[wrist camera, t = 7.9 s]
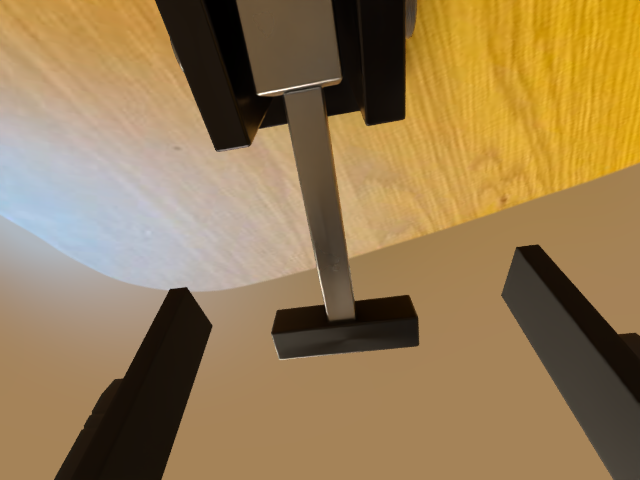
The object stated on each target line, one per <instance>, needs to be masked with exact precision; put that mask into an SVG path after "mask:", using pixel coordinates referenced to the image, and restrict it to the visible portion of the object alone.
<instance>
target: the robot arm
mask: <svg viewBox="0 0 640 480" xmlns="http://www.w3.org/2000/svg"><path fill="white" fill-rule="evenodd" d="M501 296H502V297H503V299H504V301H505V302H506V304H507V306H508V307H509V309H510V311H511V312H512V314H513V315H514V317H515V319H516V320H517V322H518V324H519V325H520V327H521V328H522V330H523V332H524V333H525V335H526V337H527V338H528V340H529V342H530V343H531V345H532V347H533V348H534V350H535V352H536V353H537V355H538V357H539V358H540V360H541V361H542V363H543V365H544V366H545V368H546V370H547V371H548V373H549V375H550V376H551V378H552V380H553V381H554V383H555V384H556V386H557V388H558V389H559V391H560V393H561V394H562V396H563V397H564V399H565V401H566V402H567V404H568V406H569V407H570V409H571V411H572V412H573V414H574V415H575V417H576V419H577V421H578V422H579V424H580V426H581V427H582V429H583V430H584V432H585V434H586V435H587V437H588V438H589V440H590V442H591V444H592V445H593V447H594V449H595V450H596V452H597V453H598V455H599V457H600V458H601V460H602V462H603V463H604V465H605V467H606V468H607V470H608V472H609V473H610V475H611V476H612V478H613V480H640V336H639V335H638V334H636V333H629V334H617V333H616V332H615V330H614V329H613V328H612V327H611V326H610V325H609V324H608V323H607V321H606V320H605V319H604V318H603V317H602V316H601V315H600V314H599V313H598V311H597V310H596V309H595V308H594V307H593V306H592V305H591V303H590V302H589V301H588V300H587V299H586V298H585V297H584V296H583V295H582V293H581V292H580V291H579V290H578V289H577V288H576V286H575V285H574V284H573V283H572V282H571V281H570V280H569V279H568V278H567V276H566V275H565V274H564V273H563V272H562V271H561V270H560V269H559V267H558V266H557V265H556V264H555V263H554V262H553V261H552V259H551V258H550V257H549V256H548V255H547V254H546V253H545V252H544V250H543V249H542V248H541V247H540V246H539V245H530V246H522V247H516V250H515V253H514V256H513V260H512V263H511V266H510V269H509V272H508V276H507V279H506V282H505V285H504V289H503V292H502V295H501ZM211 329H212V324H211V323H210V321H209V320H208V318H207V317H206V316H205V314H204V312H203V311H202V309H201V308H200V306H199V305H198V303H197V302H196V300H195V299H194V297H193V296H192V294H191V293H190V291H189V290H188V288H187V287H184V288H176V289H170V290H169V292H168V294H167V296H166V298H165V300H164V302H163V304H162V306H161V307H160V309H159V311H158V313H157V315H156V317H155V319H154V321H153V323H152V325H151V326H150V329H149V331H148V332H147V334H146V337H145V338H144V340H143V342H142V344H141V346H140V348H139V349H138V351H137V353H136V355H135V357H134V359H133V361H132V363H131V365H130V367H129V369H128V371H127V372H126V375H125V376H124V378H123V379H115V380H114V381H113V382H112V383H111V384H110V385H109V387H108V388H107V389H106V390H105V391H104V392H103V393H102V395H101V396H100V398H99V400H98V401H97V403H96V405H95V407H94V409H93V410H92V415H90V416H89V418H88V420H87V421H86V423H85V425H84V429H83V430H81V432H80V434H79V436H78V437H77V439H76V441H75V443H74V445H73V446H72V448H71V450H70V452H69V454H68V455H67V457H66V459H65V461H64V463H63V464H62V466H61V468H60V470H59V471H58V473H57V475H56V477H55V479H54V480H161V479H162V476H163V473H164V470H165V467H166V464H167V461H168V458H169V455H170V452H171V449H172V446H173V443H174V440H175V437H176V434H177V431H178V428H179V425H180V422H181V419H182V416H183V413H184V410H185V407H186V404H187V401H188V398H189V395H190V392H191V389H192V386H193V383H194V380H195V377H196V374H197V371H198V368H199V365H200V362H201V359H202V356H203V353H204V350H205V347H206V344H207V341H208V338H209V335H210V332H211Z"/></svg>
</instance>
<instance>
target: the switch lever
mask: <svg viewBox="0 0 640 480" xmlns="http://www.w3.org/2000/svg"><path fill="white" fill-rule="evenodd" d="M234 4H235V8H236V13H237V17H238V21H239V25H240V30H241V34H242V38H243V43H244V47H245V51H246V55H247V60H248V64H249V68H250V72H251V77H252V81H253V85H254V89H255V93H256V94H257V95H258V96H280V95H283V101H284V106H285V111H286V116H287V121H288V126H289V131H290V136H291V141H292V146H293V151H294V156H295V161H296V166H297V171H298V176H299V181H300V186H301V191H302V196H303V201H304V206H305V211H306V216H307V221H308V226H309V231H310V236H311V241H312V246H313V250H314V255H315V260H316V265H317V270H318V275H319V280H320V285H321V290H322V295H323V300H324V305H316V306H309V307H299V308H291V309H282V310H277V312H276V316H275V320H274V324H273V328H272V332H271V335H272V338H273V342H274V345H275V348H276V351H277V354H278V358H279V359H280V360H284V359H294V358H304V357H314V356H324V355H334V354H344V353H354V352H364V351H374V350H385V349H394V348H404V347H414V346H418V345H419V327H418V316H417V314H416V311H415V309H414V306H413V303H412V301H411V298H410V296H409V295H403V296H394V297H385V298H376V299H368V300H360V301H355V300H354V293H353V287H352V280H351V273H350V266H349V259H348V253H347V246H346V239H345V232H344V225H343V219H342V212H341V205H340V198H339V192H338V185H337V178H336V171H335V164H334V158H333V151H332V144H331V137H330V131H329V124H328V117H327V110H326V104H325V97H324V90H323V88H322V87H327V86H332V85H337V84H339V83H340V82H341V80H342V79H343V69H342V60H341V52H340V44H339V36H338V27H337V19H336V11H335V2H334V0H234Z"/></svg>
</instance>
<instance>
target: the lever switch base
mask: <svg viewBox="0 0 640 480" xmlns="http://www.w3.org/2000/svg"><path fill="white" fill-rule="evenodd" d="M155 1H156V4H157V6H158V9H159V11H160V14H161V16H162V19H163V21H164V24H165V26H166V29H167V31H168V34H169V36H170V41H171V45H172V48H173V51H174V54H175V57H176V59H177V61H178V63H179V65H180V67H181V69H182V70H183V72H184V73H185V76H186V78H187V81H188V83H189V86H190V88H191V91H192V93H193V96H194V98H195V101H196V103H197V105H198V108H199V110H200V113H201V115H202V118H203V120H204V123H205V125H206V128H207V130H208V133H209V135H210V138H211V140H212V143H213V145H214V148H215V150H216V151H217V152H221V151H227V150H233V149H239V148H244V147H249V146H250V145H251V144H252V142H253V140H254V137H255V135H256V133H257V131H258V129H261V128H267V127H272V126H278V125H283V124H288V121H287V116H286V111H285V106H284V101H283V95H280V96H258V95H257V94H256V93H255V89H254V85H253V81H252V77H251V72H250V68H249V64H248V60H247V55H246V51H245V47H244V43H243V38H242V34H241V30H240V25H239V21H238V17H237V13H236V8H235V4H234V0H155ZM334 2H335V11H336V19H337V27H338V36H339V44H340V52H341V60H342V69H343V79H342V80H341V82H340V83H339V84H337V85H332V86H327V87H322V88H323V90H324V97H325V104H326V110H327V116H333V115H338V114H344V113H349V112H355V111H361V114H362V116H363V119H364V121H365V124H366V125H367V126H371V125H376V124H382V123H388V122H393V121H399V120H403V119H405V92H406V39H409V38H410V37H411V36H412V34H413V31H414V28H415V22H416V14H417V0H334Z"/></svg>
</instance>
